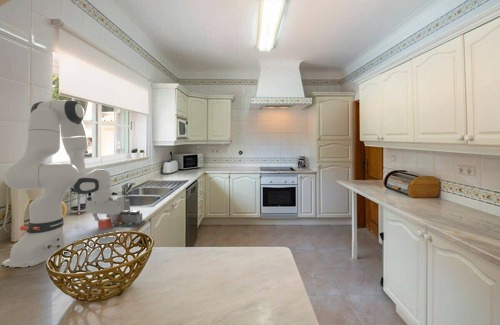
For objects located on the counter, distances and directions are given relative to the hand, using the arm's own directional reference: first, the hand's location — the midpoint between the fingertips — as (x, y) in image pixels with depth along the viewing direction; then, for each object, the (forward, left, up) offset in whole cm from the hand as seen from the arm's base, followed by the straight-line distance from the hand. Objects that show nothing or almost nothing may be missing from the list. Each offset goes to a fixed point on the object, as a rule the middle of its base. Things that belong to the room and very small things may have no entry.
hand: (104, 221), depth 145 cm
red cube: (-1, -1, -4) cm, 4 cm away
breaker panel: (+7, -11, -3) cm, 14 cm away
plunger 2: (+7, -14, -2) cm, 16 cm away
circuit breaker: (+15, +1, -4) cm, 16 cm away
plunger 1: (+7, -8, -2) cm, 11 cm away
